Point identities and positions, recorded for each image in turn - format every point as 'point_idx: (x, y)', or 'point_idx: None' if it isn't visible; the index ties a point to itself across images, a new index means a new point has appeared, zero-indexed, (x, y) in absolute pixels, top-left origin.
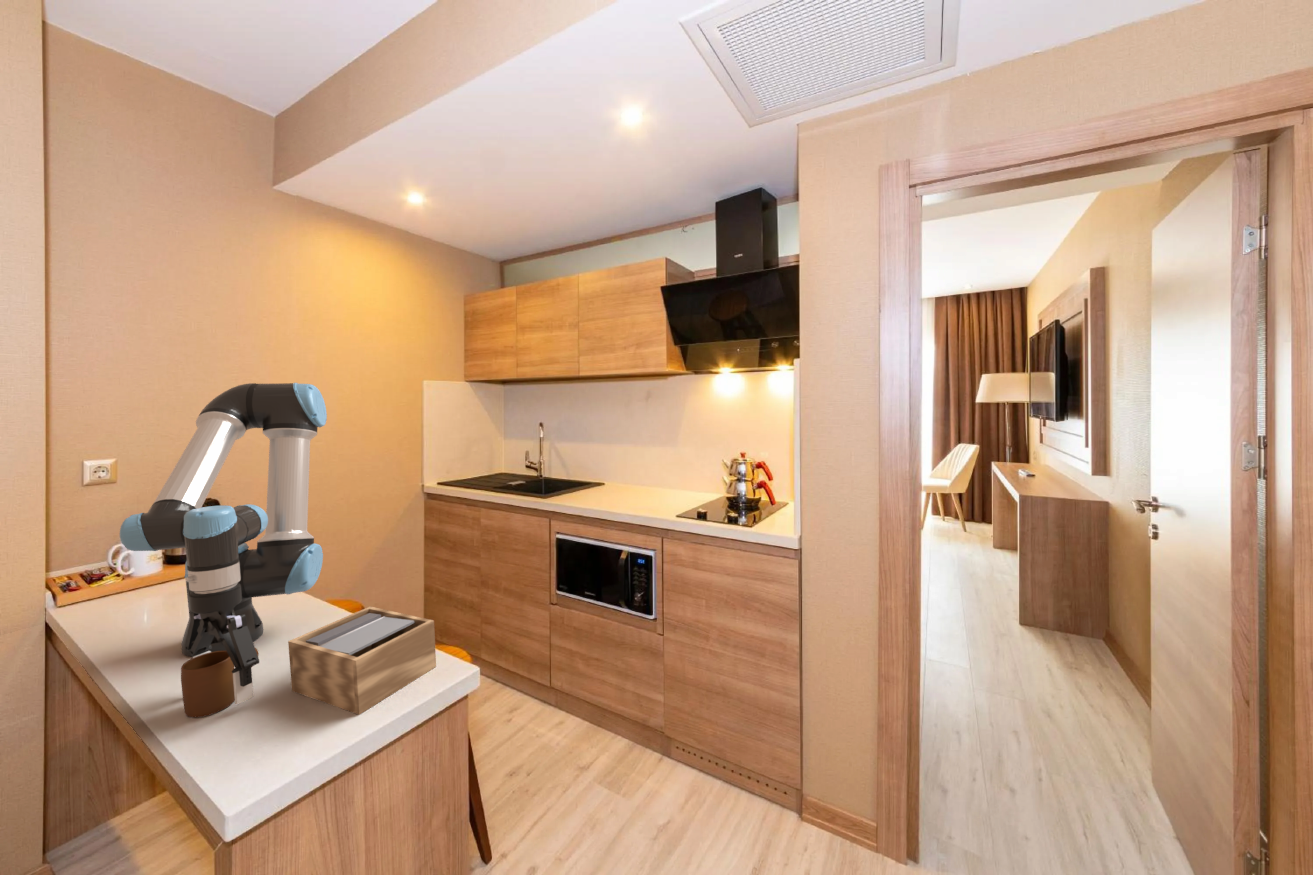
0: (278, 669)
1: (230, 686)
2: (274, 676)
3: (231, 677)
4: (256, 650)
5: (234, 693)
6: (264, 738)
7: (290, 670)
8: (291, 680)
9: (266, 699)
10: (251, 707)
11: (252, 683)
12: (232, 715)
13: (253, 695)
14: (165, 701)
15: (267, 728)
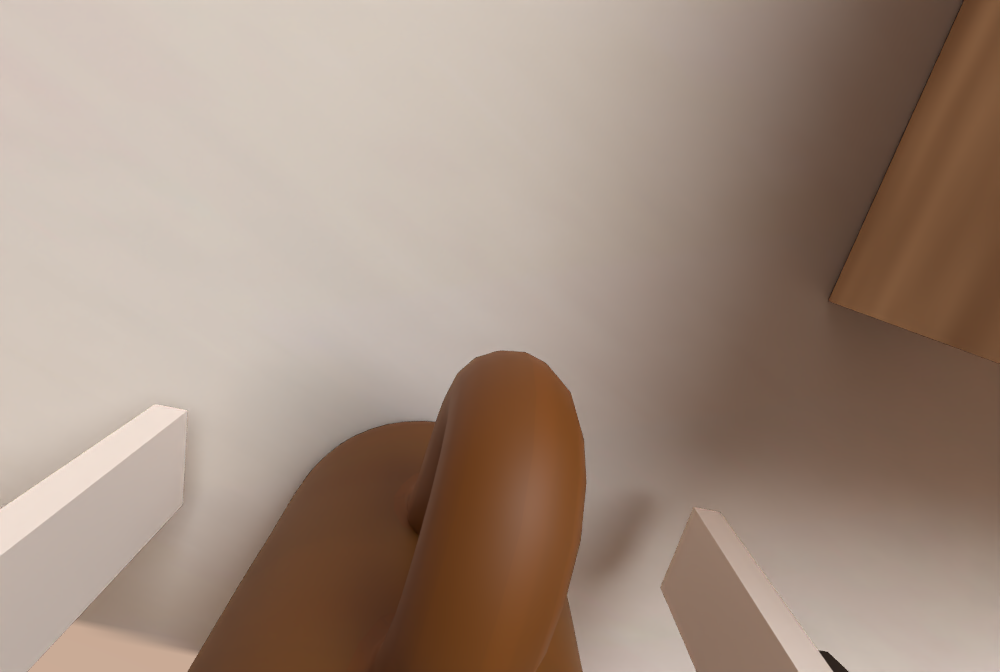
0: (431, 10)
1: (566, 598)
2: (508, 134)
3: (574, 648)
4: (581, 451)
5: (691, 654)
6: (968, 655)
7: (987, 358)
8: (901, 327)
9: (717, 410)
10: (690, 489)
11: (778, 595)
12: (643, 560)
13: (724, 519)
14: None
15: (932, 605)
